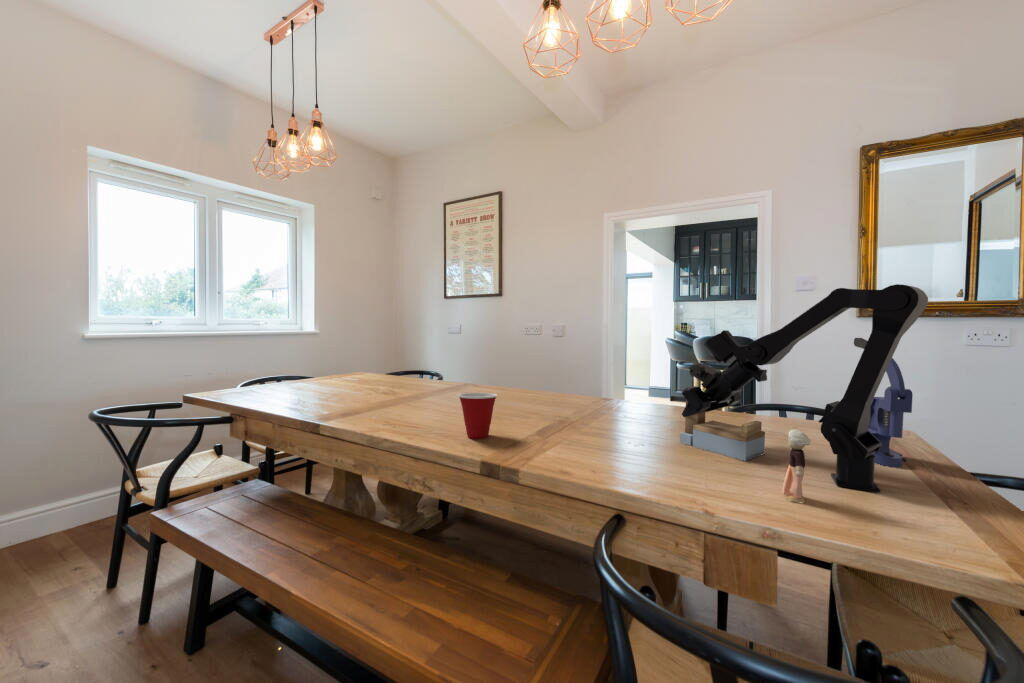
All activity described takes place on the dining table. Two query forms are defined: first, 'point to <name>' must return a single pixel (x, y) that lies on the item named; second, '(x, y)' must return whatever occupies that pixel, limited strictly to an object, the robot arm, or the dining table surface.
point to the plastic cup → (477, 413)
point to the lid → (732, 430)
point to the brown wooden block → (693, 421)
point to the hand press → (889, 413)
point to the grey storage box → (724, 444)
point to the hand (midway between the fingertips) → (690, 414)
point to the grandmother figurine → (795, 466)
